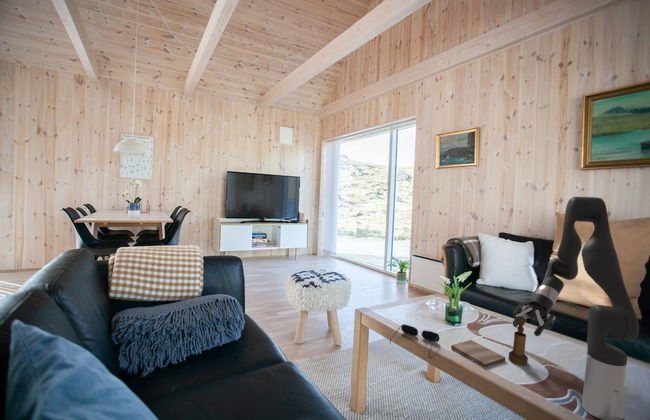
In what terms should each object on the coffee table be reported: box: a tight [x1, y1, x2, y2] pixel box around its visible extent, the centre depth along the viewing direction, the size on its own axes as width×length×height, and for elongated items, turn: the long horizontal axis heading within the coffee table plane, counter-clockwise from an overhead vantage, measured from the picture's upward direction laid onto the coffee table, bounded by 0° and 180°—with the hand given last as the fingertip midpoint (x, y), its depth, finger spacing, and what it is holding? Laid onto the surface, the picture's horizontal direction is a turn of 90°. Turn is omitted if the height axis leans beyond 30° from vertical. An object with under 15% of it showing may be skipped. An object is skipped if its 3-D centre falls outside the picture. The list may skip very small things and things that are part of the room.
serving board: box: [450, 339, 506, 368], centre depth 135 cm, size 16×12×2 cm
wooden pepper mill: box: [508, 316, 529, 366], centre depth 131 cm, size 7×6×18 cm
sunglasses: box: [389, 323, 440, 356], centre depth 143 cm, size 17×15×5 cm
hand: (524, 330), depth 132 cm, fingers open, 8 cm apart
